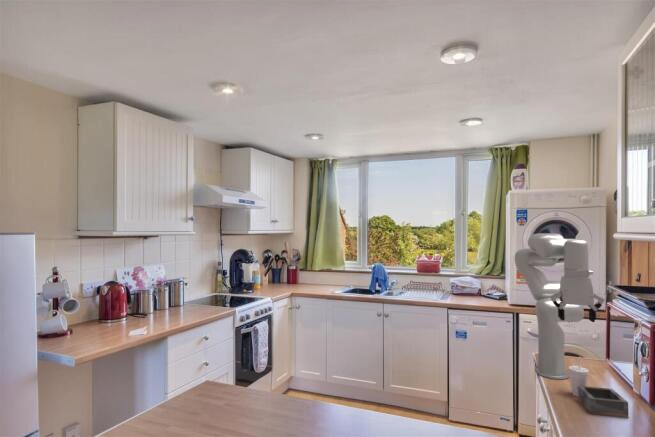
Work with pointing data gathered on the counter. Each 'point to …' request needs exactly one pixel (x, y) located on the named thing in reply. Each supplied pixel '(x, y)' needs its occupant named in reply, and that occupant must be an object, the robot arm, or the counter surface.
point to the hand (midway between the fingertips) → (576, 320)
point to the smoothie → (578, 377)
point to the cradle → (603, 401)
